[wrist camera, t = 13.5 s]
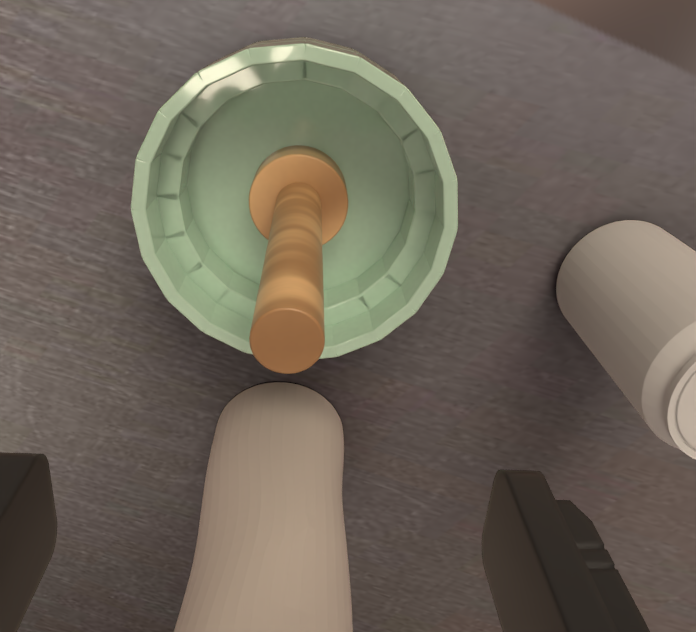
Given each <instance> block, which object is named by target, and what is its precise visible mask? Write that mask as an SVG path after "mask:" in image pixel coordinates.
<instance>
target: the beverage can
mask: <svg viewBox="0 0 696 632" xmlns="http://www.w3.org/2000/svg"><path fill="white" fill-rule="evenodd" d="M556 295H557V301H558V304H559V307H560V310H561V312H562V314H563V315H564V317H565V318H566V319H567V321H568V322H569V323H570V325H571V326H572V327H573V328H574V330H575V331H576V332H577V334H578V335H579V336H580V338H581V339H582V340H583V341H584V343H585V344H586V345H587V347H588V348H589V349H590V351H591V352H592V353H593V355H594V356H595V357H596V358H597V360H598V361H599V362H600V364H601V365H602V366H603V368H604V369H605V370H606V371H607V373H608V374H609V375H610V377H611V378H612V379H613V381H614V382H615V383H616V384H617V386H618V387H619V388H620V390H621V391H622V392H623V394H624V395H625V396H626V397H627V399H628V400H629V401H630V403H631V404H632V405H633V407H634V408H635V409H636V410H637V412H638V413H639V414H640V416H641V417H642V418H643V420H644V421H645V422H646V423H647V425H648V426H649V427H650V429H651V430H652V431H653V432H654V433H655V434H656V435H657V436H658V437H659V438H660V439H661V440H662V441H664V442H666V443H667V444H669V445H671V446H673V447H675V448H678V449H680V450H681V451H683V452H684V453H685V454H686V455H688V456H690V457H691V458H693V459H695V460H696V251H694V250H693V249H691V248H690V247H688V246H687V245H685V244H684V243H682V242H681V241H680V240H678V239H677V238H675V237H674V236H672V235H671V234H669V233H668V232H666V231H665V230H663V229H662V228H660V227H658V226H656V225H654V224H651V223H648V222H644V221H638V220H624V221H617V222H613V223H610V224H607V225H604V226H602V227H599V228H597V229H595V230H594V231H592V232H590V233H589V234H587V235H586V236H585V237H583V238H582V239H581V240H580V241H579V242H578V243H577V244H576V245H575V246H574V247H573V248H572V249H571V251H570V252H569V253H568V254H567V256H566V258H565V259H564V261H563V263H562V265H561V268H560V270H559V273H558V278H557V284H556Z"/></svg>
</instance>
